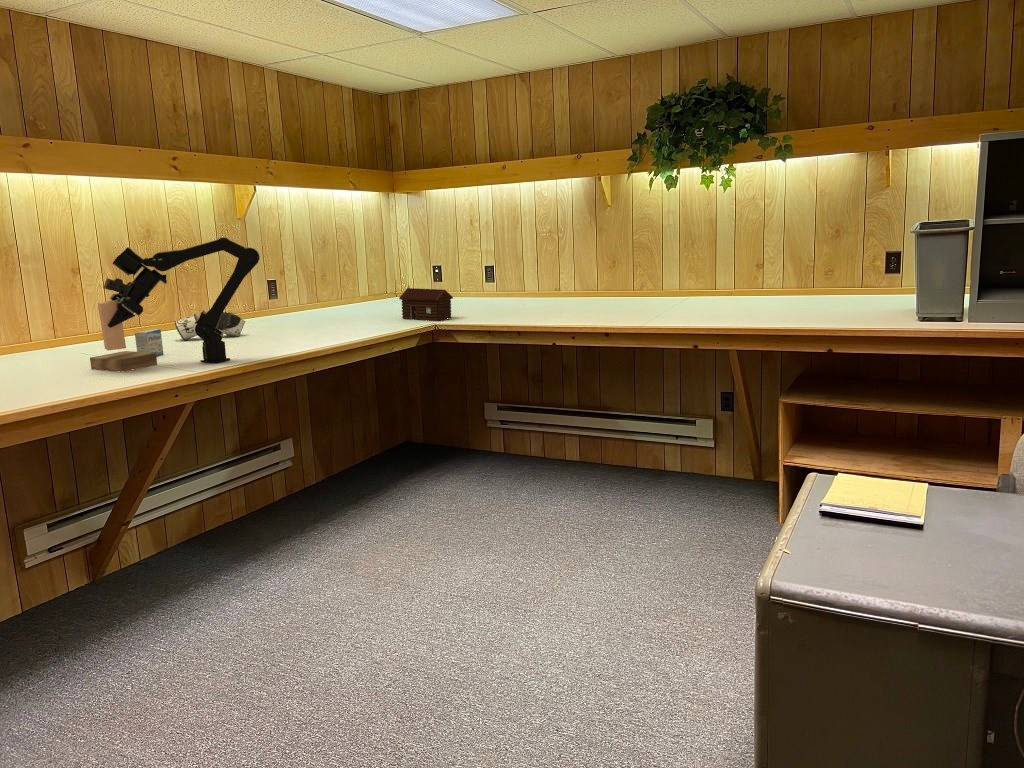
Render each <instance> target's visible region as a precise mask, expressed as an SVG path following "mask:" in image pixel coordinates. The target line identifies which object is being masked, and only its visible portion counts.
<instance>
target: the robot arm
mask: <svg viewBox="0 0 1024 768" xmlns="http://www.w3.org/2000/svg"><path fill="white" fill-rule="evenodd" d="M222 251H224V252H226V253H228V254H230V255H231V256H233V257H235V258H238V259H237V262H236V265H235V268H234V270H233V272H232V274H231V275H230V277H229V279H228V280H227V282H226V283H225V285H224V287H223V288H222V290H221V291H220V293H219V295H218V296H217V298H216V300H215V301H214V303H213V304H212V306H211V308H210V309H209V310H208V311H207V312H206V311H205V309H204V310H202V311H201V312H200V315H199V316H198V318H199V319H198V320H196V322H195V324H196V326H195V332H196V334H197V336H196V337H198V338H201V339H202V346H201V347H202V358H203V359H199V360H200V363H209V364H213V363H214V364H217V363H221V362H225V361H230V360H231V358H230V357H227V352H226V351H227V350H226V342H225V340H223V336H224V333H222V332H221V331H220V330H219V329H217V325H218V322H219V320H220V317H221V314H222V313H223V312H225V311H224V310H225V309H226V308H227V306H228V304H229V302H230V301H231V300H232V298H233V296H234V295H235V293H236V292H237V290H238V289H239V287H240V285H241V283H242V282H243V280H244V279H245V278H246V277H247V276H248V274H250V272H251V271H253V269H254V268H255V267H256V266H257V265H258V263H259V260H260V257H261V256H260V253H259V251H258V250H257V249H256V248H254V247H249V246H248V247H245V246H243V245H240V244H238V243H237V242H234V241H232V240H230V239H229V238H228V237H224V236H223V237H219V238H218V239H214V240H211V241H208V242H204V243H201V244H197V245H194V246H190V247H187V248H183V249H176V250H175V249H173V250H167V251H166V250H165V251H160V252H157V253H155V254H153V256H152V257H145V258H143V257H141V256H140V255H139V254H138V253H136V252H135V251H134V250H133V249H132V248H131V247H129V246H128V247H126V248H125V249H124V250H123V251H122V252H121V253H120V254H119V255H117V256H116V257H115V259H114V260H113V262H112V265H114V266H115V267H116V268H117V269H119V270H120V271H122V273H124V274H126V275H127V276H128V277H129V276H131V275H132V276H135V278H134V279H133V280H132V281H128V282H127V283H126V284H125V283H124V282H123V279H121V278H118V277H115V278H114V279H111V278H108V277H107V278H106V280H105V281H104V284H103V289H105V290H108V291H113V292H115V293H113V294H112V295H111V296H110V297H109V300H110V301H118V302H119V303H117V302H116V306H117V310H116V312H115V314H114V315H113V317H112V319H111V320H110V322H109V324H108V326H109V327H110V328H111V327H114V326H116V325H118V324H120V323H122V324H123V322H126V321H128V320H130V319H132V318H134V317H136V316H138V317H139V316H140V315H142V313H143V312H144V306H143V305H141V304H142V303H143V301H144V300H145V299H146V298H149V296H150V293H151V292H152V291H153V290H154V289H155V287H156V286H157V285H158V284H159V283H160V282H161V283H163V284H164V285H167V283H168V280H167V274H165V273H164V274H162V273H160V272H166V271H170V270H171V269H173V268H175V267H177V266H179V265H182V264H183V263H185V262H187V261H191V260H195V259H197V258H202V257H205V256H208V255H211V254H215V253H219V252H222ZM148 267H149V268H148ZM150 267H151V268H153V270H151V269H150ZM141 269H142V270H141ZM140 270H141V271H140ZM139 271H140V272H139ZM136 275H137V276H136Z"/></svg>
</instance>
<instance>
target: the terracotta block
mask: <svg viewBox="0 0 1024 768" xmlns="http://www.w3.org/2000/svg"><path fill="white" fill-rule="evenodd" d="M116 302H117V303H119V302H118V301H111V300H106V301H97V307H98V308H97V309H98V313H99V314H98V315H99V320H100V321H99V322H100V326H101V332H102V339H103V340H102V341H103V345H104V349H105V350H106V351H115V350H122V349H123V350H125V349H127V344H126V338H125V332H124V331H125V330H124V325H123V322H122V323H120V324H118V325H116V326H114V327H111V328H110V327H109V326H108V324H109V322H110V320H111V319H112V317H113V315H114V314H115V312H116V310H117V306H116Z"/></svg>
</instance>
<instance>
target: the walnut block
mask: <svg viewBox="0 0 1024 768" xmlns="http://www.w3.org/2000/svg"><path fill="white" fill-rule="evenodd" d="M157 359H158V356H156V353H147V352H137V351H133V350H124V351H117V352H113V353H107V354H102V355H96V356H91V357H89V363H90V369H91V370H94V369H96V371H97V370H98V371H106V370H108V372H117V371H120V372H119V373H123V372H122V371H124V372H127V370H129V371H133V370H132V369H134V370H137V369H138V370H139V369H142V368H143V369H144V368H147V367H152V366H157V365H158V360H157Z"/></svg>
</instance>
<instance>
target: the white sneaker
mask: <svg viewBox="0 0 1024 768" xmlns="http://www.w3.org/2000/svg"><path fill="white" fill-rule="evenodd" d="M198 319H199V316H198V314H197V313H194V314H193V313H192V314H191V315H188V316H186V317H184V318H181V319H179V320H177V321H175V322H174V325H175V329H176V331H177V333H178V334H179V335H180V337H181V339H182V340H183V341H188V340H190V339H193V338H194V337H198V336H197V334H196V332H195V326H196V324H195V322H196V320H198ZM245 323H246V321H245V320H243V319H242V317H240V316H238V315H237V314H234V313H233V312H227V311H223V313H222V314H221V317H220V320H219V322H218V325H217V329H219V330H220V331H221V332H222V333H223V335H226V336H227V337H235V336H236V337H238V338H239V337H240V336H241V333H242V330H243V329H244V325H245Z"/></svg>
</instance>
